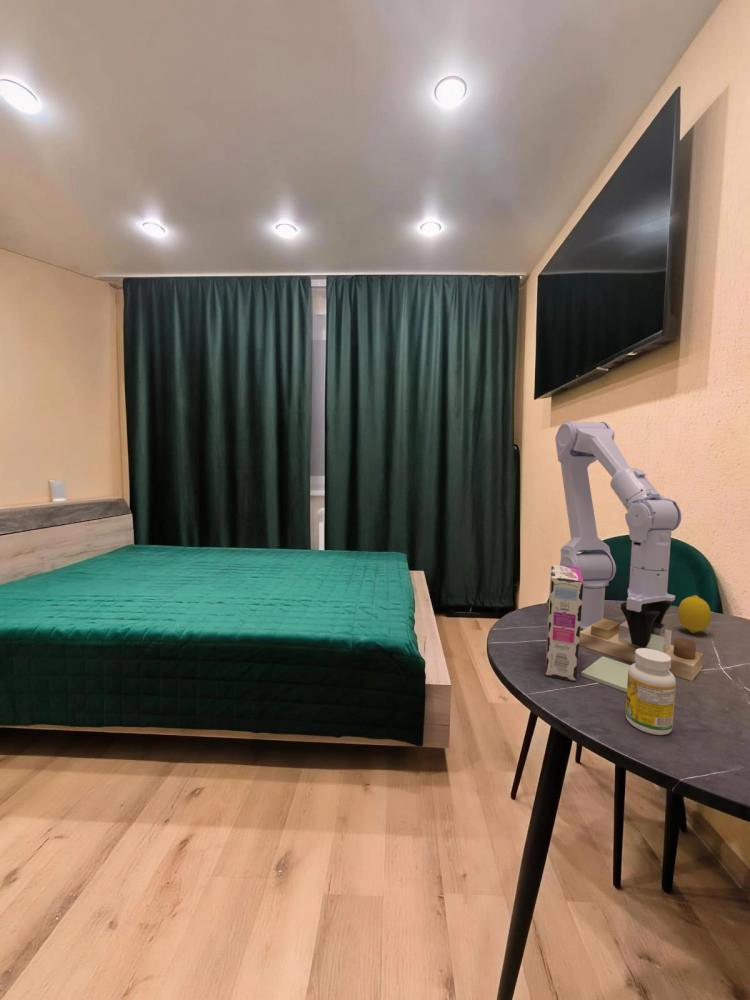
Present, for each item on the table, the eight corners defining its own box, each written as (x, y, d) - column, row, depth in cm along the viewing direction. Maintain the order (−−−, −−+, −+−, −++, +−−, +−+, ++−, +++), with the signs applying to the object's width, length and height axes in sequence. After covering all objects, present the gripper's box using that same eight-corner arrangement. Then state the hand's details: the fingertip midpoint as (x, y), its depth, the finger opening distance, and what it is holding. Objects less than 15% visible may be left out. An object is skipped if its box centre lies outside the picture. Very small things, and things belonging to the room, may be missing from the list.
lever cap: (618, 641, 78) (619, 619, 78) (626, 635, 81) (628, 614, 81) (662, 654, 73) (664, 631, 73) (670, 647, 76) (672, 625, 76)
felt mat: (580, 675, 70) (581, 672, 70) (602, 659, 76) (602, 656, 76) (643, 698, 64) (643, 694, 63) (661, 678, 70) (661, 675, 69)
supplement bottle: (669, 742, 54) (675, 668, 53) (621, 724, 57) (625, 655, 56) (674, 722, 58) (679, 653, 57) (629, 707, 61) (633, 642, 60)
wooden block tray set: (578, 644, 82) (579, 620, 82) (593, 635, 87) (594, 612, 86) (692, 681, 69) (694, 651, 68) (702, 667, 74) (704, 639, 73)
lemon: (703, 630, 91) (706, 593, 90) (714, 640, 85) (717, 601, 85) (672, 626, 92) (675, 590, 92) (681, 636, 87) (684, 597, 87)
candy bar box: (579, 683, 68) (584, 581, 66) (545, 676, 70) (549, 578, 68) (575, 654, 78) (580, 566, 77) (546, 649, 80) (550, 563, 79)
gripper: (663, 578, 68) (657, 661, 69) (687, 565, 78) (681, 637, 79) (615, 570, 73) (610, 646, 74) (643, 558, 83) (638, 626, 84)
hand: (644, 641), depth 77 cm, fingers open, 5 cm apart
